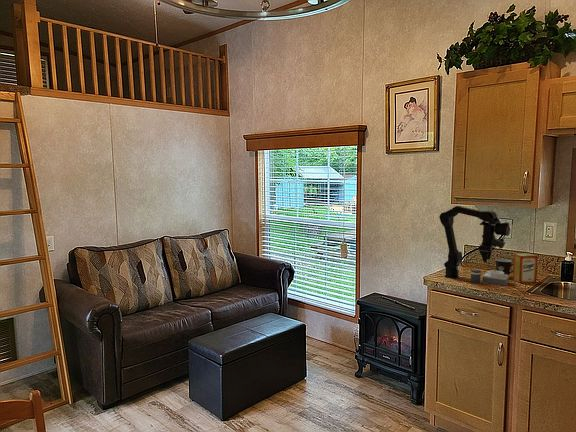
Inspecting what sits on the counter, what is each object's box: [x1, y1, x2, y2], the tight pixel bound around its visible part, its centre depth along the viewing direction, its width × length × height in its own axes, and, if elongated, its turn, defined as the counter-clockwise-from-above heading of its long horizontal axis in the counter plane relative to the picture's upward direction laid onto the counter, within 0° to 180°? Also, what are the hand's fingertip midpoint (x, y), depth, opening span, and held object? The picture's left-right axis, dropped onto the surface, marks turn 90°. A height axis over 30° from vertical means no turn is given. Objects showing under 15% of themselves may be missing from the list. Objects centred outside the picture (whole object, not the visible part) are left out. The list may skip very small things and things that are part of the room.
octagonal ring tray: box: [481, 269, 510, 286], centre depth 234 cm, size 12×9×6 cm
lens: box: [470, 269, 482, 285], centre depth 234 cm, size 5×5×7 cm
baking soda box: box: [512, 253, 538, 284], centre depth 234 cm, size 10×6×16 cm
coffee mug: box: [494, 258, 514, 276], centre depth 245 cm, size 12×9×10 cm
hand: (486, 260), depth 232 cm, fingers open, 9 cm apart
